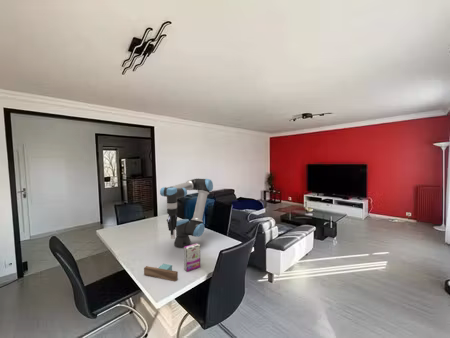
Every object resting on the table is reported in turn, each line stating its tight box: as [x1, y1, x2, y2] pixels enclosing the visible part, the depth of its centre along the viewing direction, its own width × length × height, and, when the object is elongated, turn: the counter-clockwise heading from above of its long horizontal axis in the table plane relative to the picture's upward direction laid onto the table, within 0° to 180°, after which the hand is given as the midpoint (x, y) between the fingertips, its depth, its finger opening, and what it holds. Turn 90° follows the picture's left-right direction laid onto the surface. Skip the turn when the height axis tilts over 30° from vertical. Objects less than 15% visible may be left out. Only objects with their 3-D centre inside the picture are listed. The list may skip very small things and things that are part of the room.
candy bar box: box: [183, 243, 201, 273], centre depth 145 cm, size 11×5×16 cm, turn 126°
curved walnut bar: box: [143, 265, 179, 282], centre depth 133 cm, size 2×24×5 cm, turn 74°
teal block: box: [158, 263, 173, 271], centre depth 139 cm, size 7×7×4 cm
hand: (172, 238), depth 154 cm, fingers closed
